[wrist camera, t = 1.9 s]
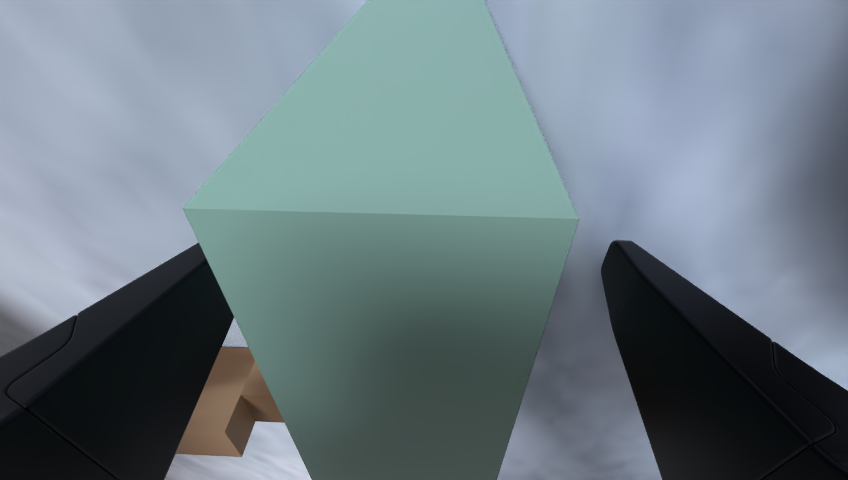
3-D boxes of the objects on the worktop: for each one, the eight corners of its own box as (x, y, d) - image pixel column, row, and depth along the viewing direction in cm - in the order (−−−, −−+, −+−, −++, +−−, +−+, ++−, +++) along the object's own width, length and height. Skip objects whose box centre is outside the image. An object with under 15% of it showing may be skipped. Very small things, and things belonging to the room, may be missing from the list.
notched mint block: (377, -11, 9) (182, 207, 2) (479, -11, 9) (579, 218, 2) (396, 283, 16) (357, 574, 9) (456, 285, 16) (465, 581, 9)
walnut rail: (468, 356, 19) (471, 444, 16) (464, 383, 20) (467, 468, 17) (139, 343, 19) (80, 425, 16) (160, 370, 21) (110, 450, 18)
